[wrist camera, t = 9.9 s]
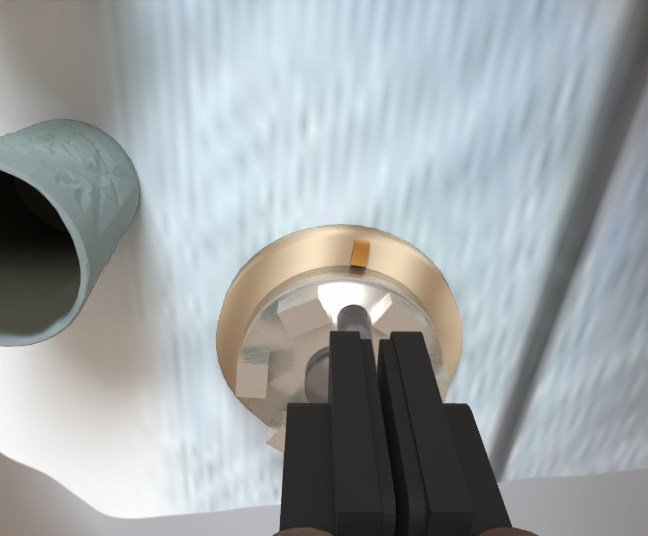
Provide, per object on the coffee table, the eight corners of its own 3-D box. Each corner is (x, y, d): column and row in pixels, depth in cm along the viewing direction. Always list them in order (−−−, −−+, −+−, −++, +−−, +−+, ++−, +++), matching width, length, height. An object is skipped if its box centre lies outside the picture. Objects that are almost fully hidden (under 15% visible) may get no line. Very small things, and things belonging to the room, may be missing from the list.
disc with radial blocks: (248, 256, 39) (228, 344, 30) (454, 275, 40) (494, 365, 31) (239, 417, 46) (220, 530, 37) (417, 430, 47) (441, 543, 38)
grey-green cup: (98, 274, 43) (26, 379, 32) (-35, 186, 39) (-164, 270, 29) (180, 172, 39) (129, 251, 28) (42, 67, 36) (-73, 112, 25)
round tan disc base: (471, 225, 41) (480, 241, 39) (442, 424, 49) (449, 446, 47) (211, 223, 41) (205, 238, 38) (226, 423, 49) (222, 446, 47)
